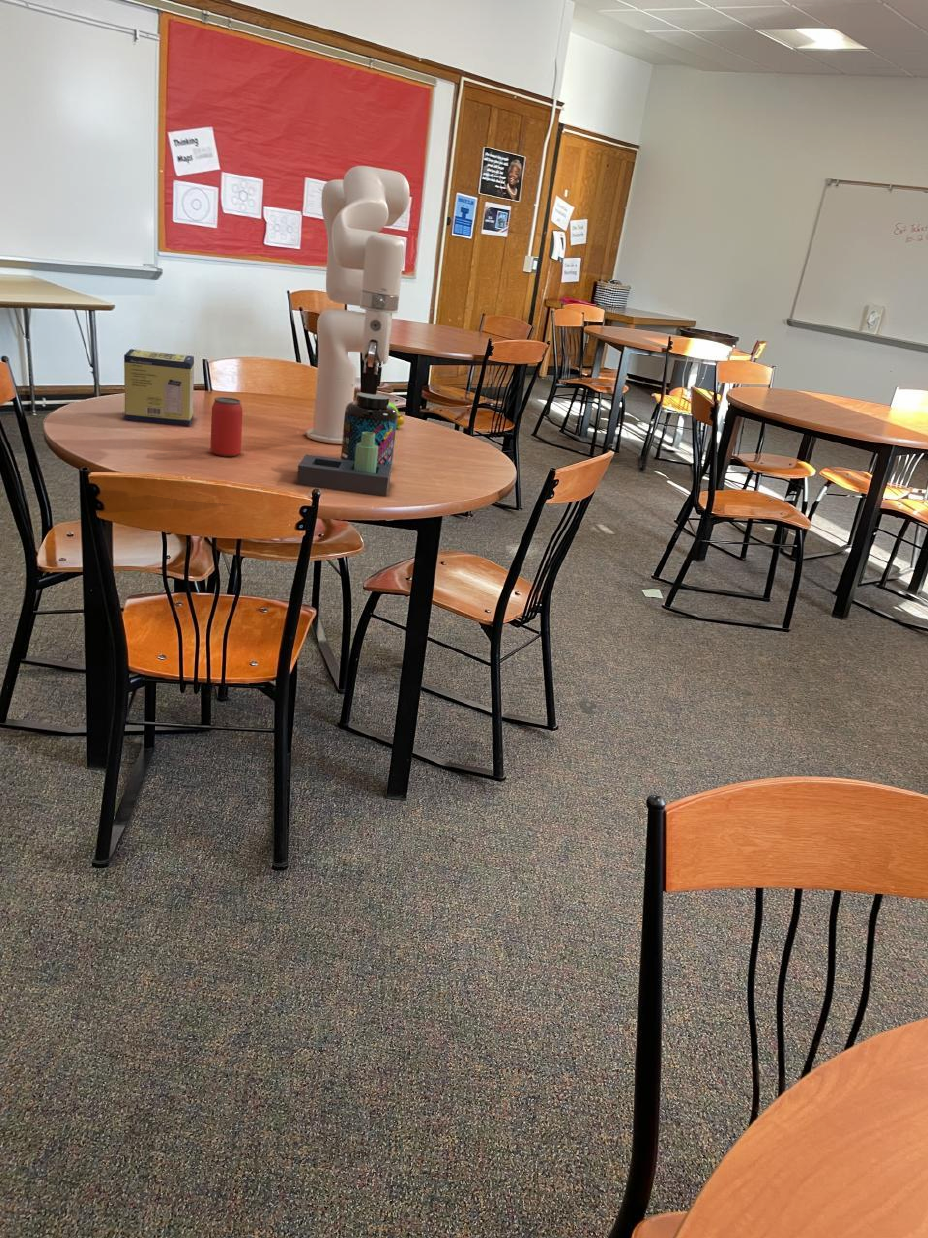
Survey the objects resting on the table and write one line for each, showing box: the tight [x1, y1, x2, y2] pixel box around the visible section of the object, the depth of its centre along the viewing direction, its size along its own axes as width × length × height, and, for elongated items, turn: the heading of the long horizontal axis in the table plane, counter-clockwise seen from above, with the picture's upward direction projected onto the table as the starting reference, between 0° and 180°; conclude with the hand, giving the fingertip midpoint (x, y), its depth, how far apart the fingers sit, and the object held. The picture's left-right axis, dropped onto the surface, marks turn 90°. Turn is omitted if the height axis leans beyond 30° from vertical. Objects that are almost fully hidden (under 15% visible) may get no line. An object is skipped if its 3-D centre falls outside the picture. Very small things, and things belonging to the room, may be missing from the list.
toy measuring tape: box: [388, 401, 405, 430], centre depth 255 cm, size 6×20×7 cm, turn 58°
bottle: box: [354, 432, 379, 473], centre depth 190 cm, size 5×5×12 cm
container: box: [340, 391, 397, 467], centre depth 207 cm, size 12×12×17 cm
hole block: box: [296, 453, 392, 497], centre depth 191 cm, size 11×19×4 cm, turn 91°
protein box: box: [123, 348, 195, 427], centre depth 220 cm, size 10×16×16 cm
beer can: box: [209, 396, 244, 458], centre depth 199 cm, size 7×7×12 cm
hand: (370, 389), depth 185 cm, fingers open, 9 cm apart
